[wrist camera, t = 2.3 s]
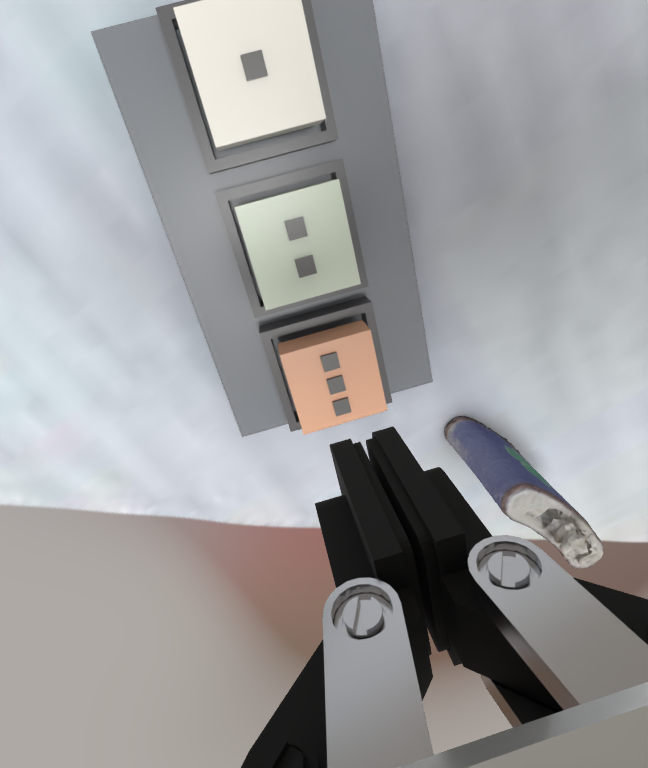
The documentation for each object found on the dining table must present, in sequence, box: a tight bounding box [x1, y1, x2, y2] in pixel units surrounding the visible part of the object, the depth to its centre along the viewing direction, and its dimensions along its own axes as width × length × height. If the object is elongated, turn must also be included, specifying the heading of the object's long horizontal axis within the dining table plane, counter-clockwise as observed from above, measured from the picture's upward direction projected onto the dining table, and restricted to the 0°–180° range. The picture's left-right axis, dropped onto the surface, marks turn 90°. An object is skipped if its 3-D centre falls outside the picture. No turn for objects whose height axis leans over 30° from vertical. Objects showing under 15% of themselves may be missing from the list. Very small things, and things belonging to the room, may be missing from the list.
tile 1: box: [173, 0, 326, 151], centre depth 20 cm, size 5×5×2 cm
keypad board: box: [91, 0, 433, 437], centre depth 25 cm, size 13×22×3 cm, turn 14°
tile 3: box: [278, 320, 387, 435], centre depth 26 cm, size 5×5×2 cm
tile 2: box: [234, 179, 361, 310], centre depth 23 cm, size 5×5×2 cm
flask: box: [445, 416, 604, 569], centre depth 30 cm, size 9×3×11 cm, turn 49°
